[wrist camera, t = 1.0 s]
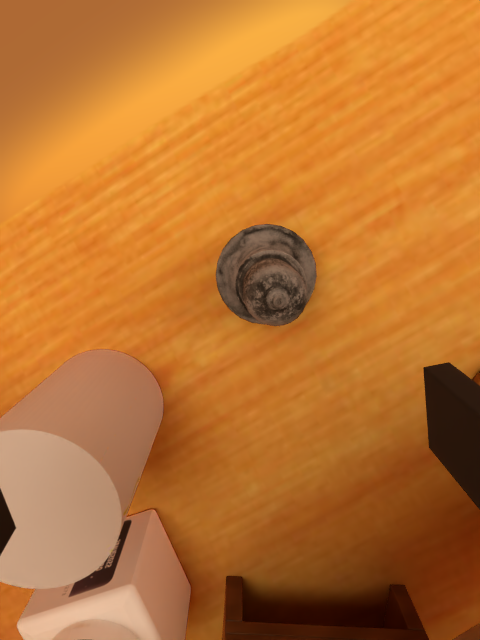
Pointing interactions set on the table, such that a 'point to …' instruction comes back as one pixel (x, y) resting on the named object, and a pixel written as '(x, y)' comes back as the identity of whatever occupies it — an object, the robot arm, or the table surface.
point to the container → (118, 593)
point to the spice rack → (396, 635)
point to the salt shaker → (266, 275)
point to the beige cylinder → (75, 466)
